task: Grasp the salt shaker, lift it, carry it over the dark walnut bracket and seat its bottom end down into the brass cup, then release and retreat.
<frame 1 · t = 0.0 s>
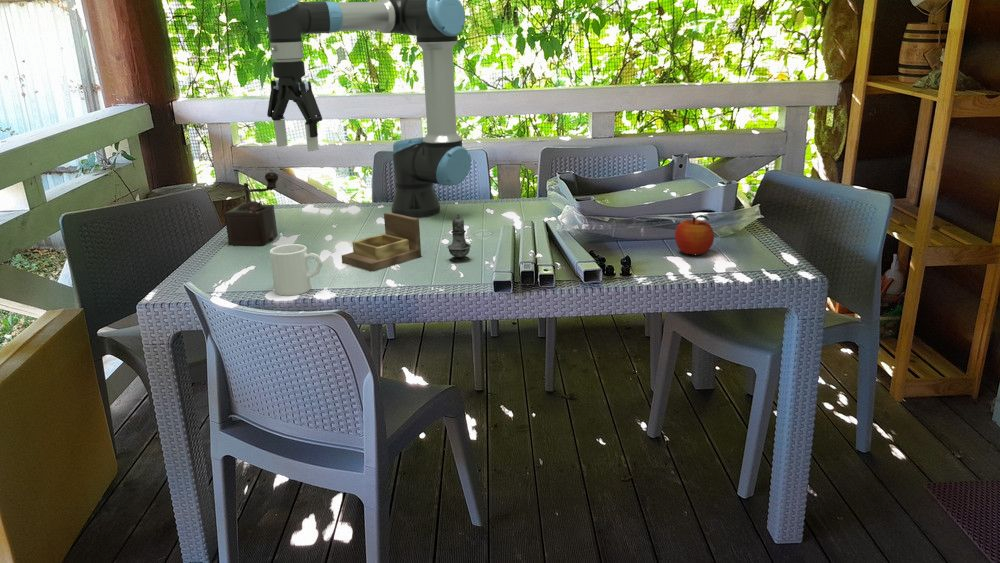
hand: (297, 148, 203), 28 cm above the table, fingers open, 13 cm apart
manual coffee grinder: (258, 239, 230), on the table
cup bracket: (382, 259, 206), on the table
salt shaker: (459, 260, 204), on the table
fruit: (693, 253, 204), on the table
mug: (301, 291, 185), on the table
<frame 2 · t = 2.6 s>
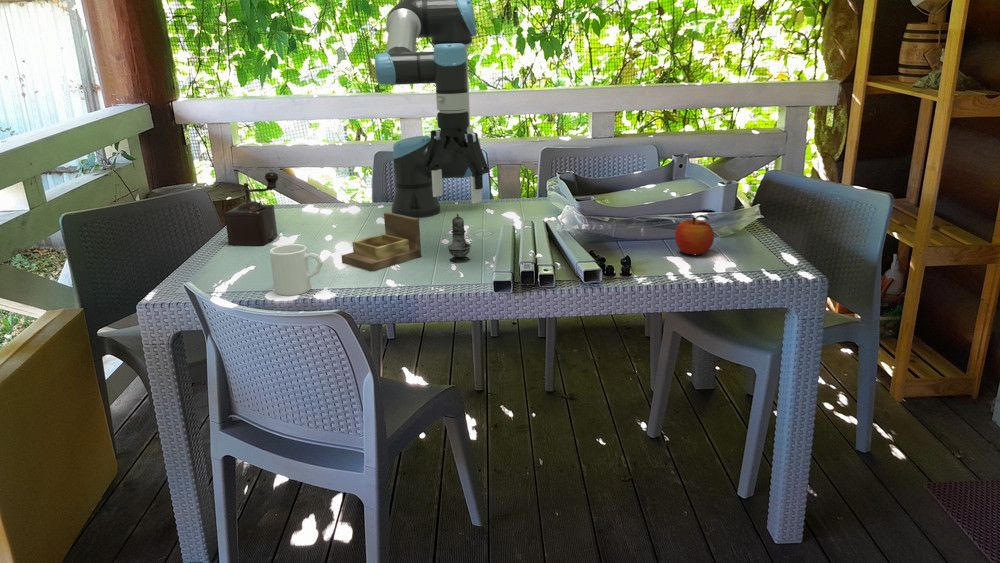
hand: (456, 199, 199), 16 cm above the table, fingers open, 13 cm apart
nothing on the table moved.
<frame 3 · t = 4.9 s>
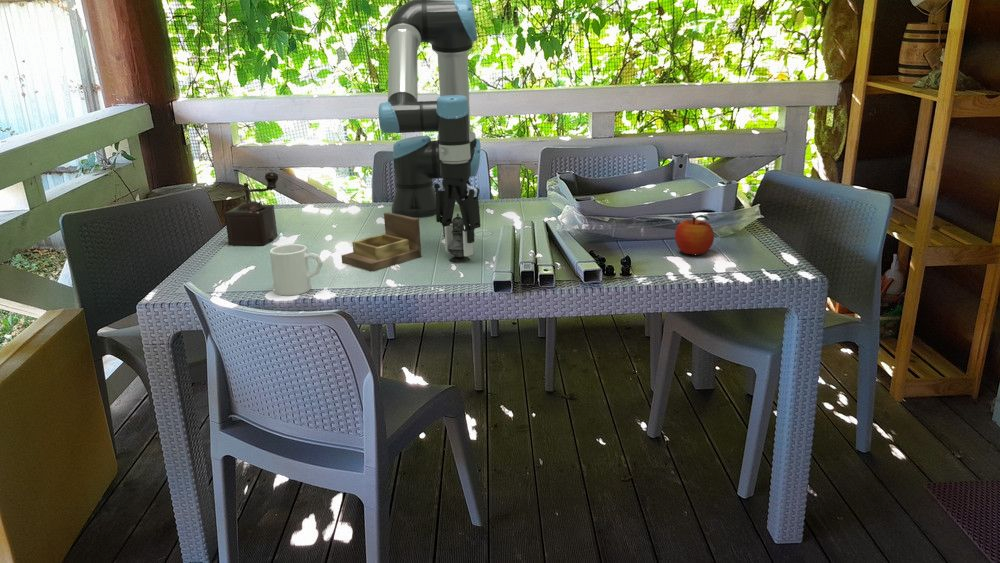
hand: (459, 252, 203), 2 cm above the table, fingers closed on salt shaker, 6 cm apart
salt shaker: (459, 260, 204), on the table, touching gripper
everything else where it was.
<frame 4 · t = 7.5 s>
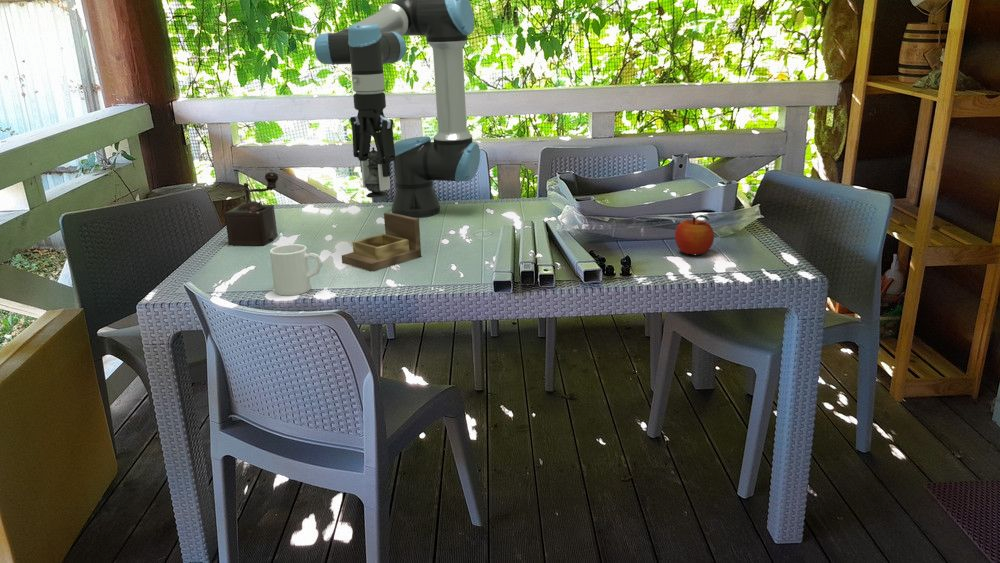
hand: (376, 187, 200), 19 cm above the table, fingers closed on salt shaker, 6 cm apart
salt shaker: (377, 196, 201), point 16 cm above the table, touching gripper
everything else where it was.
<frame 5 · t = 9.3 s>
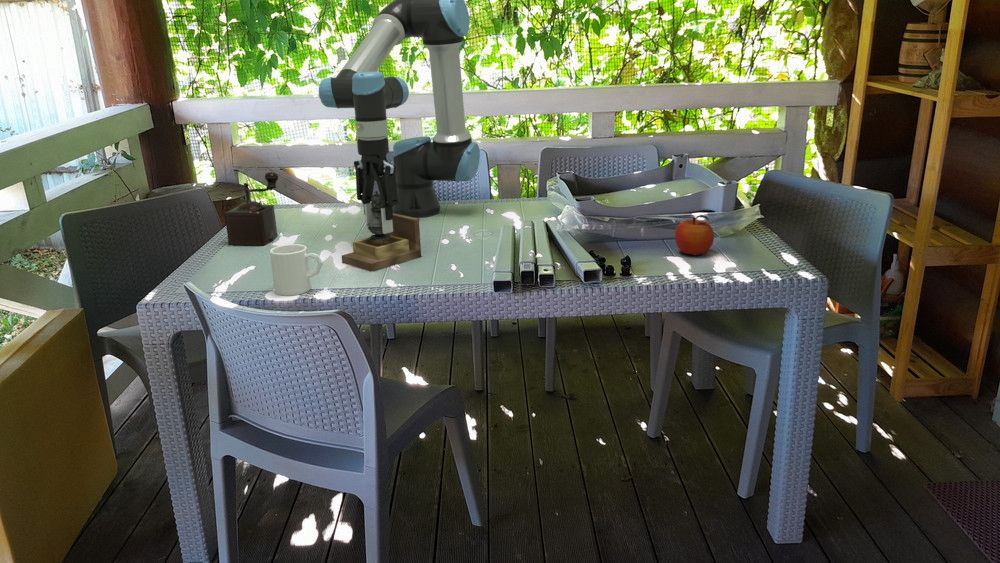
hand: (379, 230, 204), 8 cm above the table, fingers closed on salt shaker, 6 cm apart
salt shaker: (380, 238, 204), point 6 cm above the table, touching gripper
everything else where it was.
when the fingers open (6 cm above the table, at t = 10.4 s): salt shaker drops 2 cm, resting on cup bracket.
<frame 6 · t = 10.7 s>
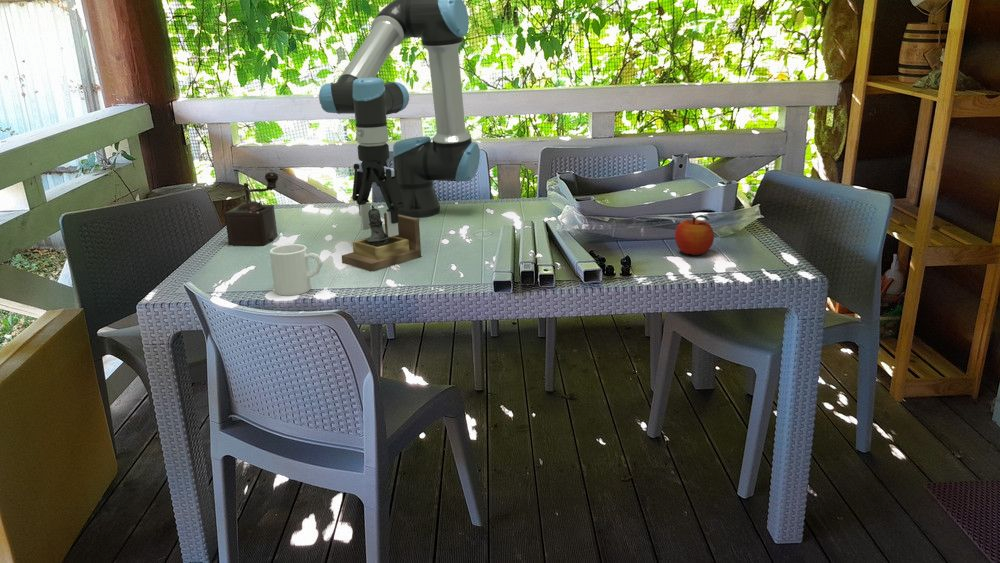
hand: (379, 232, 204), 7 cm above the table, fingers open, 10 cm apart
salt shaker: (381, 251, 206), point 2 cm above the table, touching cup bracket
everything else where it was.
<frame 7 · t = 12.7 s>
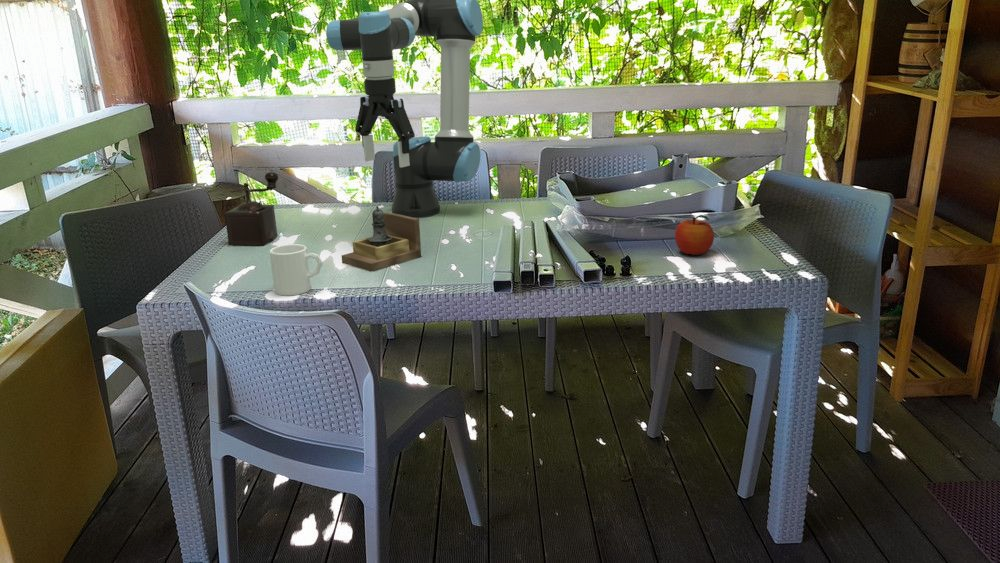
hand: (386, 163, 206), 23 cm above the table, fingers open, 13 cm apart
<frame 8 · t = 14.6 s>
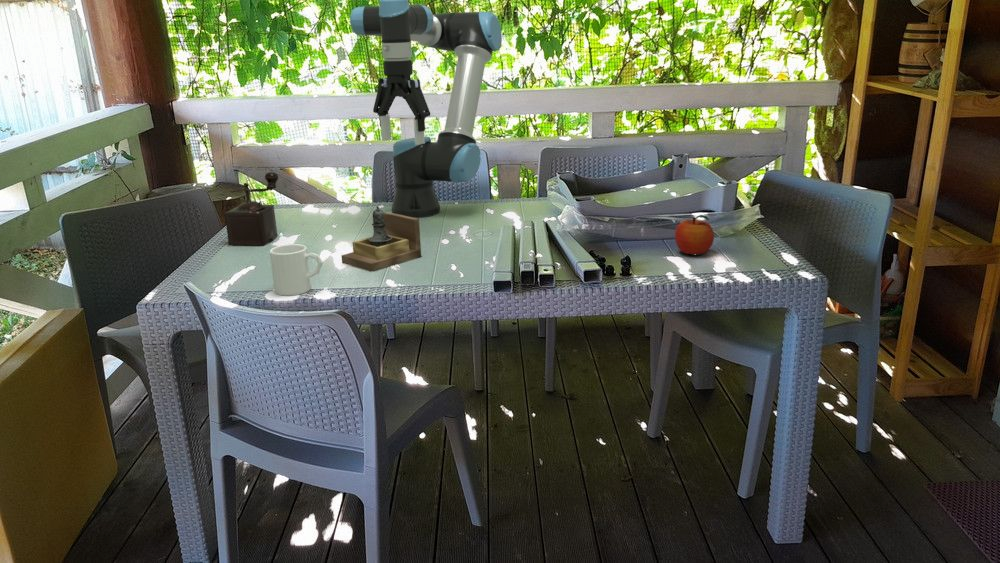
hand: (403, 142, 217), 27 cm above the table, fingers open, 13 cm apart
nothing on the table moved.
at the end: salt shaker 0.0 cm off-centre on the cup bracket, point 1.8 cm above the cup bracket's base; salt shaker tilted 0°; the gripper is holding nothing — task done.
